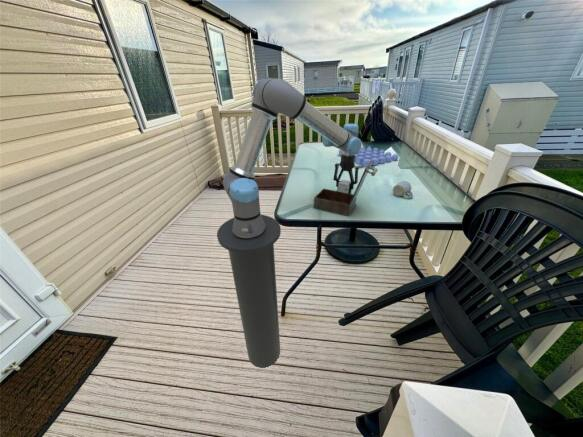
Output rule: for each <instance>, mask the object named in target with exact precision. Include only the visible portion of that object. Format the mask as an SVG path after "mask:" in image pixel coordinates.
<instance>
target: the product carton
mask: <svg viewBox="0 0 583 437" xmlns="http://www.w3.org/2000/svg"><path fill="white" fill-rule="evenodd" d="M339 181H340V182H339V183H338V192H343V193H348V194H349V187H350V184H351V181H350V180H348V179H340V180H339Z"/></svg>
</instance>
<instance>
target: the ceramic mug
mask: <svg viewBox="0 0 583 437" xmlns="http://www.w3.org/2000/svg"><path fill="white" fill-rule="evenodd" d="M392 192H393V195H395V196H396V197H404V198H406V199H407V200H409V199H412V198H413V197H414V194H413V192H412V185H411V183H410V182H409V181H408V180H402V181H399V183H397V184H395V185H394V186H393V188H392ZM407 194H409V195H410V196H408V195H407Z"/></svg>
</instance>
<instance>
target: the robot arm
mask: <svg viewBox="0 0 583 437" xmlns="http://www.w3.org/2000/svg"><path fill="white" fill-rule="evenodd" d="M252 98H253V99H252V102H251V104H250V105H251V106H250V108H251V110H252V114H251V117H250V119H249V123H248V125H247V129H246V131H245V134H244V138H243V140H242V143H241V146H240V149H239V152H238V155H237V158H236V161H235V163H234V164H233V165H231V166H230V168H229V171H228V172H227V173H226V174H225V175H224V176H223V180H222V184H223V190H224V191H225V193H226V194H227V196H228V198H229V200H230V202H231V206H232V212H233V218H234V221H233V226H232V233H233V235H234V236H235V237H237V238H239V239H244V240H249V239H254V238H257V237H260V236H261V235H263V234H264V232H265V230H266V225H265V223H264V221H263V219H262V216H261V215H262V214H261V205H260V189H259V186H258V183H257V182H256V180H255V178H256V176H255V173H254V170H255V168H256V164H257V162H258V158H259V156H260V154H261V151H262V148H263V145H264V143H265V141H266V137H267V135H268V132H269V129H270V126H271V124H272V122H273V121H274V120H276V119H277V118H278V116H279V114H282V115H284V116H286V117H288V118H289V119H291V120H297V121H299V122H300V123H302V124H303V125H305V126H306V127H307V128H309V129H311V130H312V131H313V132H315V133H316V134H318V135H320V136H321V142H322V145H323V146H324V147H325V148H331V147H334V148H336V149H338V150H342V152H341V153H342V155H341V156H340V162H336V163H335V164H334V174H333V179H332V180H333V181H334V182H335V187H336V188H337V189H336V191H338V183H339V182H340V181H341V178H342V176H343V174H344V172H347V173H348V175H349V181H351V184H350V187H349V194H352V190H354V187H355V185H358V184H359V170H360V165H358V166H357V165H356V162H355V154H356V153H358V152H359V150H360V149H361V147H363V143H362V139H360V138H359V125H358V124H357V123H346V124H344V125H343V127H342V126H340V125H339V124H338V123H336V121H334V120H332V119H331V118H329V117H328V116H327V115H326V114H324V113H323V112H322V111H321V110H319V109H317V107H315V106H314V105H313V104H311V103H310V102H308V99H307V97H306V96H305V94H302V92H300V91H299V90H298V89H297V88H296V87H294V86H293V85H292V84H290V83H289V82H288V81H287V80H284V79H283V78H274V77H264V78H261V79H260V80H258V81H257V82H256V83H255V84H254V86H253V90H252ZM339 168H341V169H340V171H339ZM353 169H354V172H353Z"/></svg>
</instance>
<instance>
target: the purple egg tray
mask: <svg viewBox="0 0 583 437" xmlns="http://www.w3.org/2000/svg"><path fill="white" fill-rule="evenodd" d="M341 152H342V150H341V149H338V156H339V157H341V155H342V153H341ZM398 159H399V154H396V153H394V154H392V152H390V151H387V152H385V150H384V149H380V150H379V148H378V147H374V148H372V147H371V146H370V145H369V146H367V148H366V147H365V146H361V149H360V150H359V152H358V153H356V154H355V162H354V163H355V164H357V165H358V166H360V165H361V166H362V167H363V168H366V167H367V166H368V165H369V163H370V162H371V161H372V160H373V163H372V165H371V166H374V167H375V166H378V165H379V164H380V165H382V164H383V165H384V164H385V163H390V162H392V160H393V161H397V160H398Z"/></svg>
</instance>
